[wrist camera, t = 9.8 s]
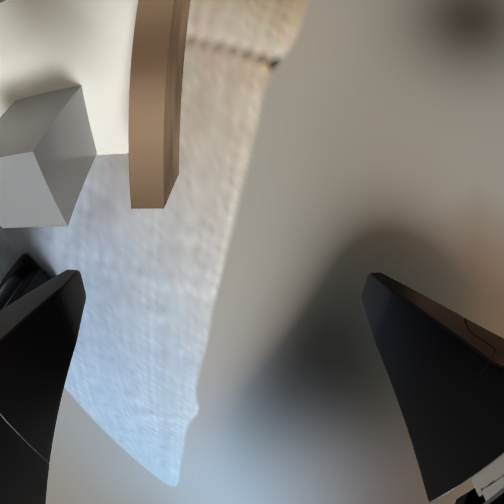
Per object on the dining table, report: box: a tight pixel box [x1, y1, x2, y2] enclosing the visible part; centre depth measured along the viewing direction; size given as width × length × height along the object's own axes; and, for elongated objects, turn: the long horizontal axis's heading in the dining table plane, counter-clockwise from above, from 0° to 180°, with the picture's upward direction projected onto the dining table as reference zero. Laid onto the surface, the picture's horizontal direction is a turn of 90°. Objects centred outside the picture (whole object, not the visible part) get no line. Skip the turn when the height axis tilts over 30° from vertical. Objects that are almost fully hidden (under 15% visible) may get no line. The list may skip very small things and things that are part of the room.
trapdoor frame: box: [128, 0, 190, 209], centre depth 11 cm, size 15×16×7 cm
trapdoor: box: [0, 0, 138, 155], centre depth 11 cm, size 14×12×2 cm
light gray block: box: [0, 86, 97, 228], centre depth 13 cm, size 5×5×6 cm
